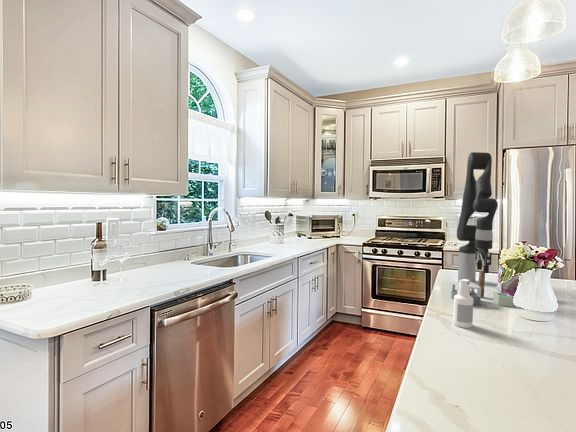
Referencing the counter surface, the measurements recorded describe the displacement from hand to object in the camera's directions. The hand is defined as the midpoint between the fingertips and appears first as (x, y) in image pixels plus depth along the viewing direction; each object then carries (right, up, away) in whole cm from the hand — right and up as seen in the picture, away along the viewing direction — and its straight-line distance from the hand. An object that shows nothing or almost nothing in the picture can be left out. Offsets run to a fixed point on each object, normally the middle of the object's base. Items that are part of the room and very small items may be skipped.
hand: (482, 271), depth 176 cm
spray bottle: (-28, -16, -37) cm, 49 cm away
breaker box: (-12, -14, -6) cm, 19 cm away
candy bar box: (+17, -13, +4) cm, 22 cm away
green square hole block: (+4, -14, -10) cm, 17 cm away
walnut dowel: (0, -13, +1) cm, 13 cm away
